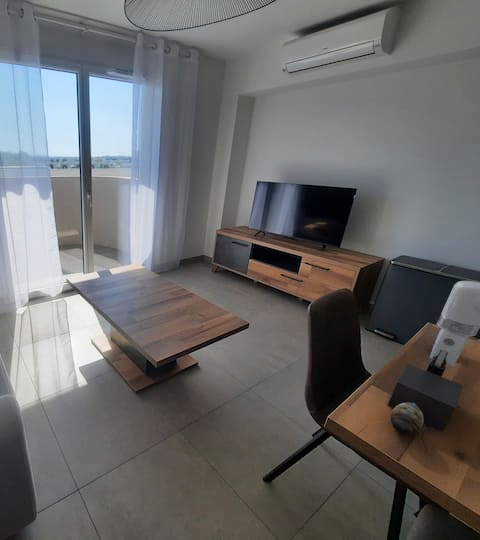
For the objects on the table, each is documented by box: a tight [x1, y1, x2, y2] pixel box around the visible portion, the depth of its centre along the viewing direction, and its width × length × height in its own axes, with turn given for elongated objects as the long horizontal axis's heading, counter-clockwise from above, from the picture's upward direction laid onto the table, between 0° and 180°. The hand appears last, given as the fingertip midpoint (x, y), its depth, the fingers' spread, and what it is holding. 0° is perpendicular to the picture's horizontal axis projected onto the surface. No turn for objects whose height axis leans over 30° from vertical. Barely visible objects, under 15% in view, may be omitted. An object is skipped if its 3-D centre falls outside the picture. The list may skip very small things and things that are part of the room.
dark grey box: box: [387, 363, 464, 433], centre depth 80 cm, size 12×11×8 cm
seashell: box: [390, 403, 424, 436], centre depth 74 cm, size 10×6×8 cm, turn 125°
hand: (432, 376), depth 88 cm, fingers closed
